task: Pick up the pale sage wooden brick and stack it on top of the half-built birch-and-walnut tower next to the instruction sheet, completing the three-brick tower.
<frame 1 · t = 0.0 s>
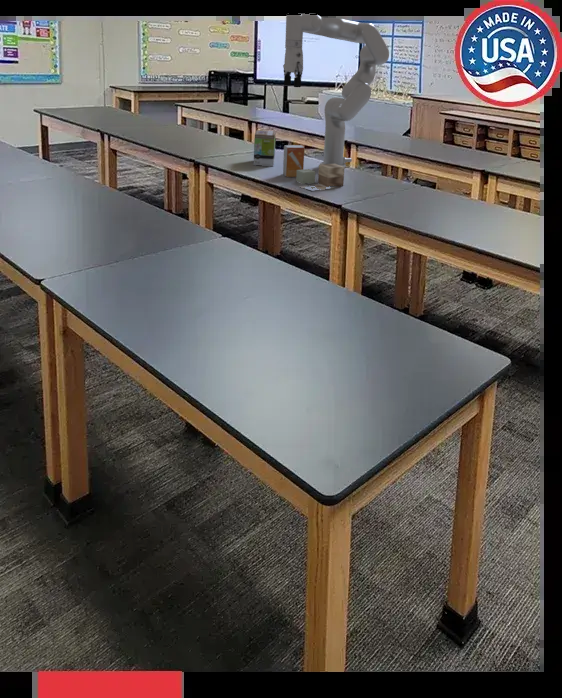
hand: (292, 86, 304), 37 cm above the table, tool pointing down, fingers open, 9 cm apart
small box: (292, 176, 307), on the table
tea box: (264, 163, 332), on the table
instruction sheet: (316, 188, 285), on the table
half-built tower: (330, 184, 292), on the table
sage brick: (305, 182, 295), on the table
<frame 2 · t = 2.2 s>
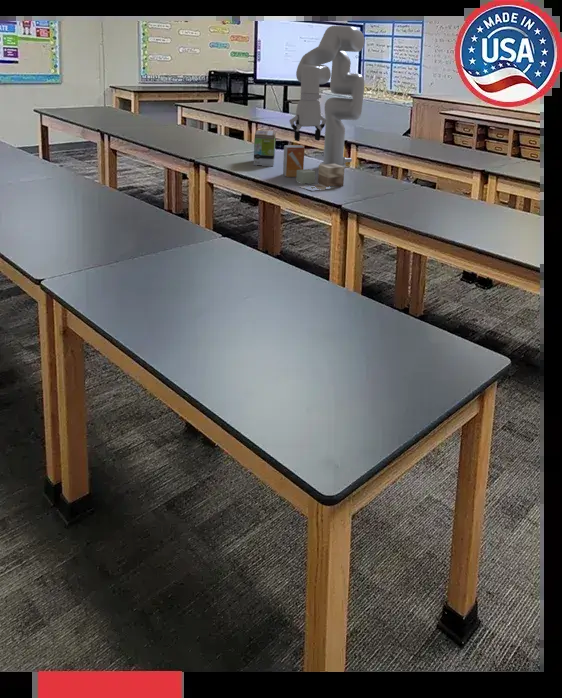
hand: (307, 140, 287), 18 cm above the table, tool pointing down, fingers open, 9 cm apart
nothing on the table moved.
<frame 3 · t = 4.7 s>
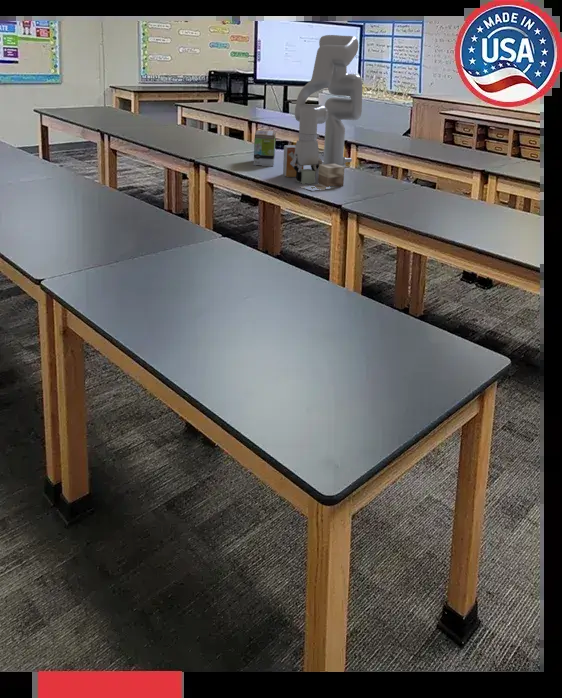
hand: (305, 180, 295), 1 cm above the table, tool pointing down, fingers closed on sage brick, 6 cm apart
sage brick: (305, 182, 295), on the table, touching gripper
everything else where it was.
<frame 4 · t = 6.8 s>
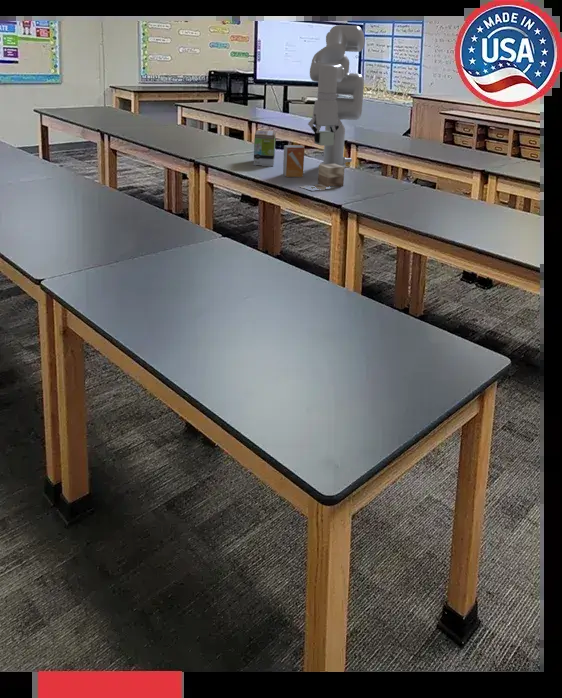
hand: (324, 141, 286), 18 cm above the table, tool pointing down, fingers closed on sage brick, 6 cm apart
sage brick: (323, 144, 286), point 17 cm above the table, touching gripper
everything else where it was.
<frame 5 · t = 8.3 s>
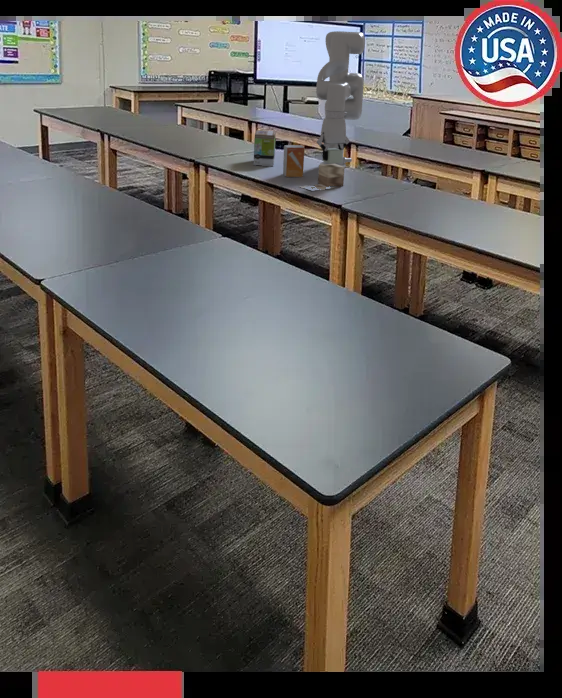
hand: (332, 159, 287), 11 cm above the table, tool pointing down, fingers closed on sage brick, 6 cm apart
sage brick: (332, 161, 288), point 10 cm above the table, touching gripper
everything else where it was.
when the fingers open (10 cm above the table, at t = 9.2 s): sage brick drops 1 cm, resting on half-built tower.
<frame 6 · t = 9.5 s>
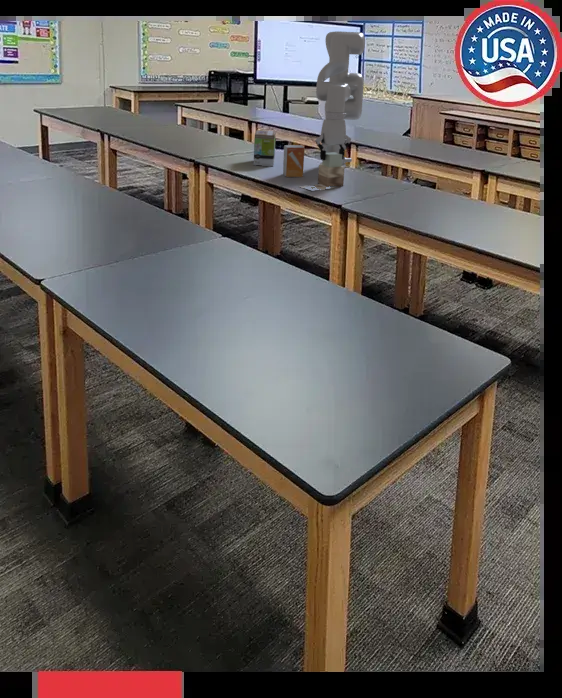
hand: (332, 159, 287), 11 cm above the table, tool pointing down, fingers open, 8 cm apart
sage brick: (331, 165, 289), point 8 cm above the table, touching half-built tower
everything else where it was.
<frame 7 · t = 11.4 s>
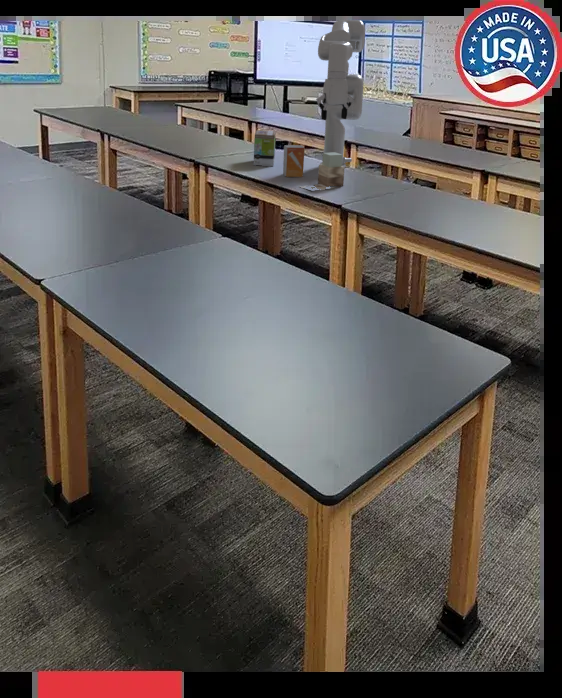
hand: (333, 119, 286), 26 cm above the table, tool pointing down, fingers open, 9 cm apart
nothing on the table moved.
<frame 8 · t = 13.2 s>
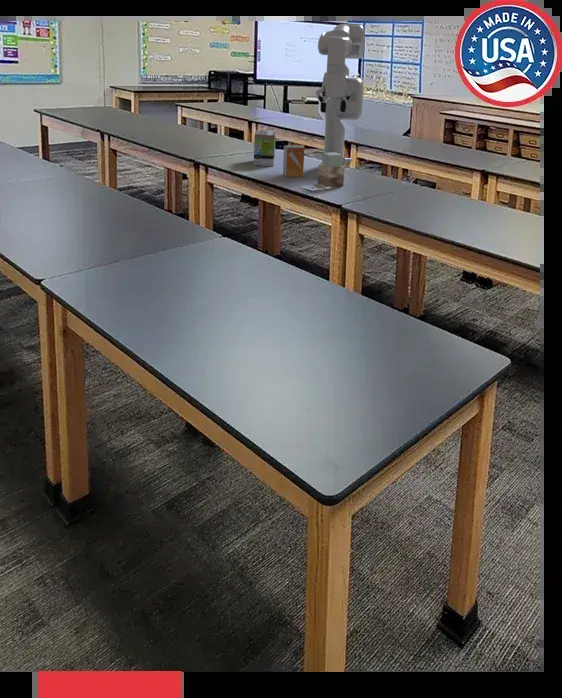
hand: (332, 112, 292), 28 cm above the table, tool pointing down, fingers open, 9 cm apart
nothing on the table moved.
at the end: sage brick 0.0 cm off-centre on the half-built tower, point 8.0 cm above the half-built tower's base; sage brick tilted 0°; the gripper is holding nothing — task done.
